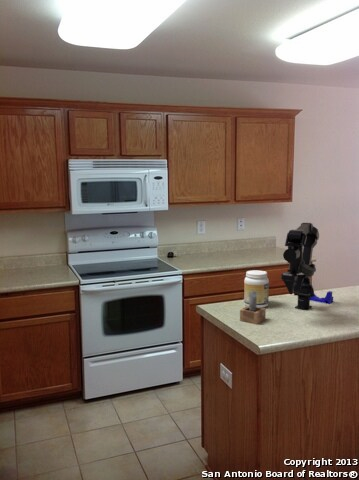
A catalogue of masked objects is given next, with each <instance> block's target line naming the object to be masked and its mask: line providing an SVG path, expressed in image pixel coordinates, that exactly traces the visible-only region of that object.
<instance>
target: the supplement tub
mask: <svg viewBox="0 0 359 480" xmlns="http://www.w3.org/2000/svg"><path fill="white" fill-rule="evenodd" d="M245 273H246V274H245V277H244V281H243V282H244V290H243V291H244V292H243V293H244V297H243V299H244V301H243V303H244V305H245V307H247V306H249V292H250V291H255V292H257V306H256V307H260V308H266V307H268V305H269V302H270V301H269V295H270V293H269V291H270V289H269V288H270V281H269V278H268V272H267V271H264V270H259V269H258V270H256V269H255V270H254V269H253V270H247V271H246V272H245Z"/></svg>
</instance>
